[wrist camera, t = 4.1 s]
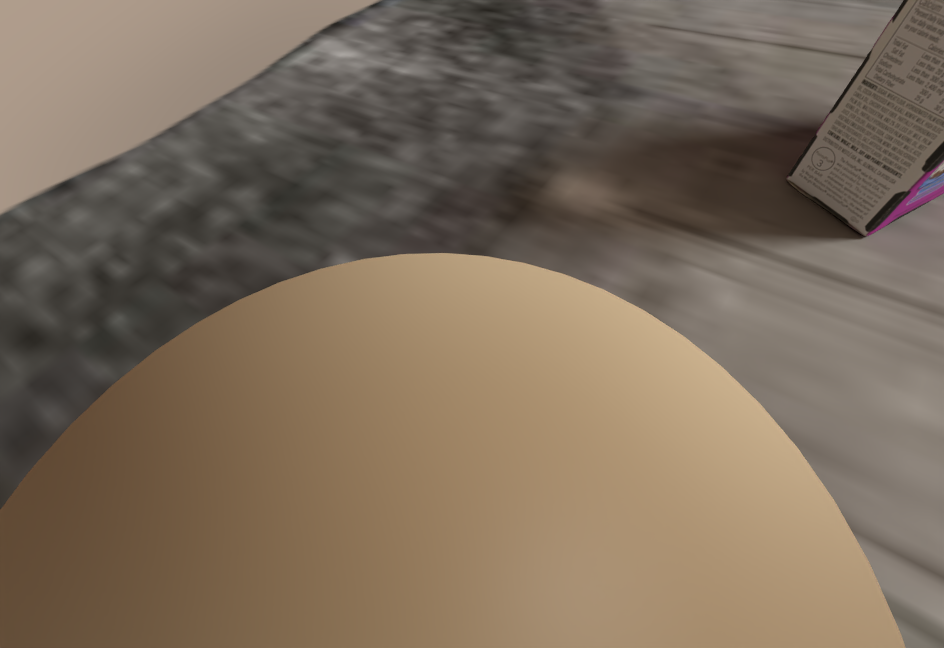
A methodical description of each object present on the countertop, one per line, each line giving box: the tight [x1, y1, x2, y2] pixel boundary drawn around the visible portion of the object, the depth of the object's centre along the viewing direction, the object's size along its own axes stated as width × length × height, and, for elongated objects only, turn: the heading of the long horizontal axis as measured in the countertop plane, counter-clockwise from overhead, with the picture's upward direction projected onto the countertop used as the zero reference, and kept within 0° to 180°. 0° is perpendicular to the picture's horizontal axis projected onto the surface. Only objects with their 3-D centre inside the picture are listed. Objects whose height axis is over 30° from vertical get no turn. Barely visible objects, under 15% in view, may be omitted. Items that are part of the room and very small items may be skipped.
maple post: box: [0, 253, 905, 648], centre depth 8 cm, size 5×5×13 cm
